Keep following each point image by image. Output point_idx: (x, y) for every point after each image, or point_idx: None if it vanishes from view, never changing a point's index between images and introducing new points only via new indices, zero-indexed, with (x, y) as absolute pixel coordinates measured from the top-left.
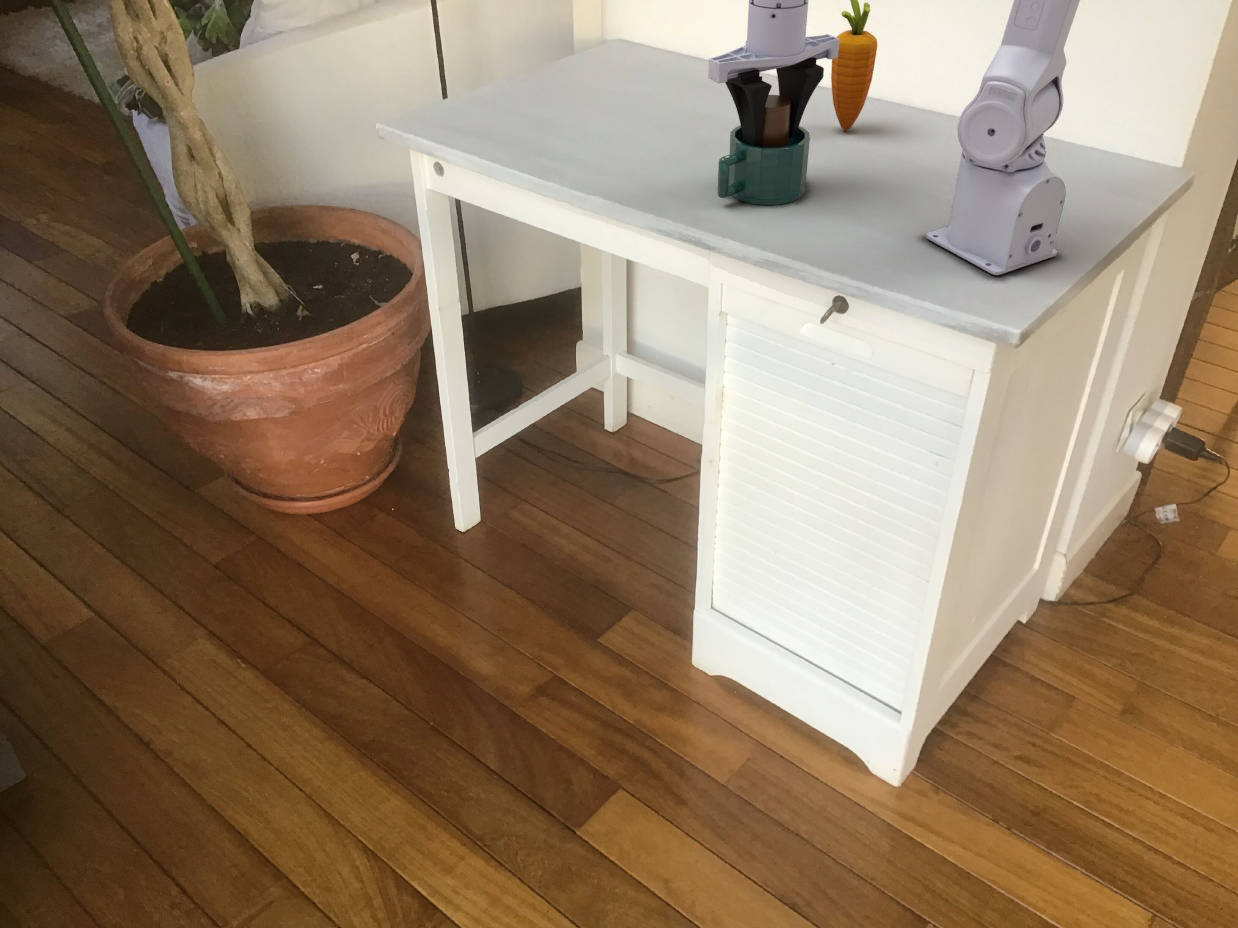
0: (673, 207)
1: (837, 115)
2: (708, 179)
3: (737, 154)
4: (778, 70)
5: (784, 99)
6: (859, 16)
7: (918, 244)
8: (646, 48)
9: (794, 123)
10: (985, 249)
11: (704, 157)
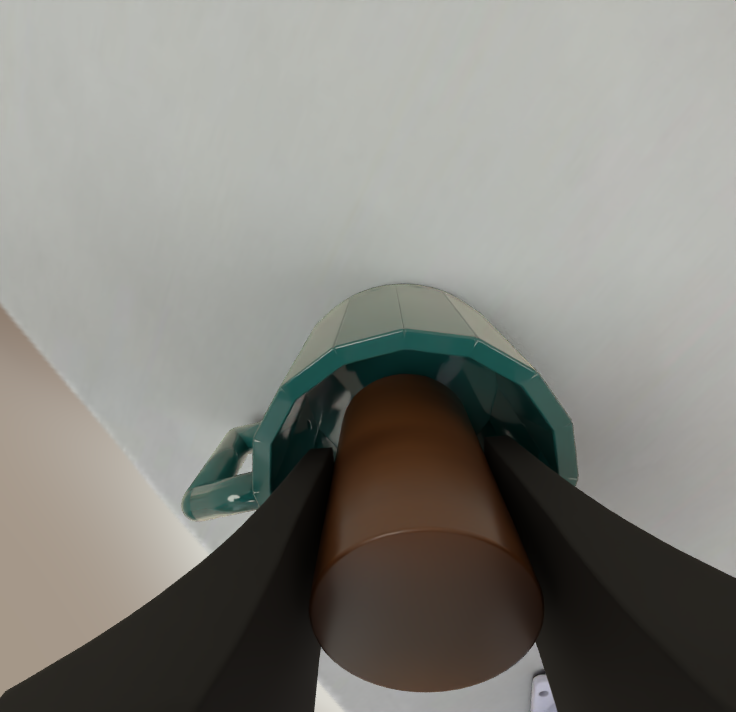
0: (133, 371)
1: None
2: (285, 247)
3: (248, 508)
4: (674, 690)
5: (509, 630)
6: None
7: (510, 675)
8: None
9: None
10: None
11: (351, 45)
